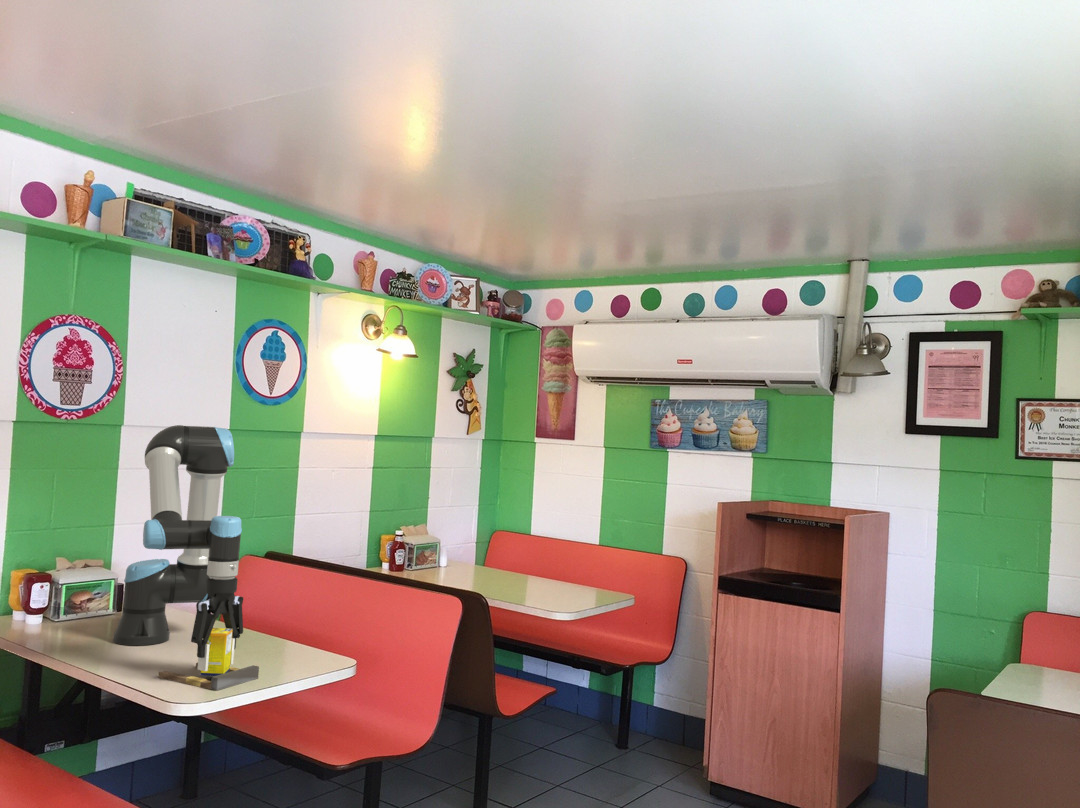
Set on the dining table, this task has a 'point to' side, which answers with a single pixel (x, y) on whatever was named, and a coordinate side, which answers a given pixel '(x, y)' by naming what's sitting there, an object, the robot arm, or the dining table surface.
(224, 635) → the supplement box
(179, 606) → the dining table surface
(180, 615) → the dining table surface
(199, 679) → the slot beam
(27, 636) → the dining table surface
